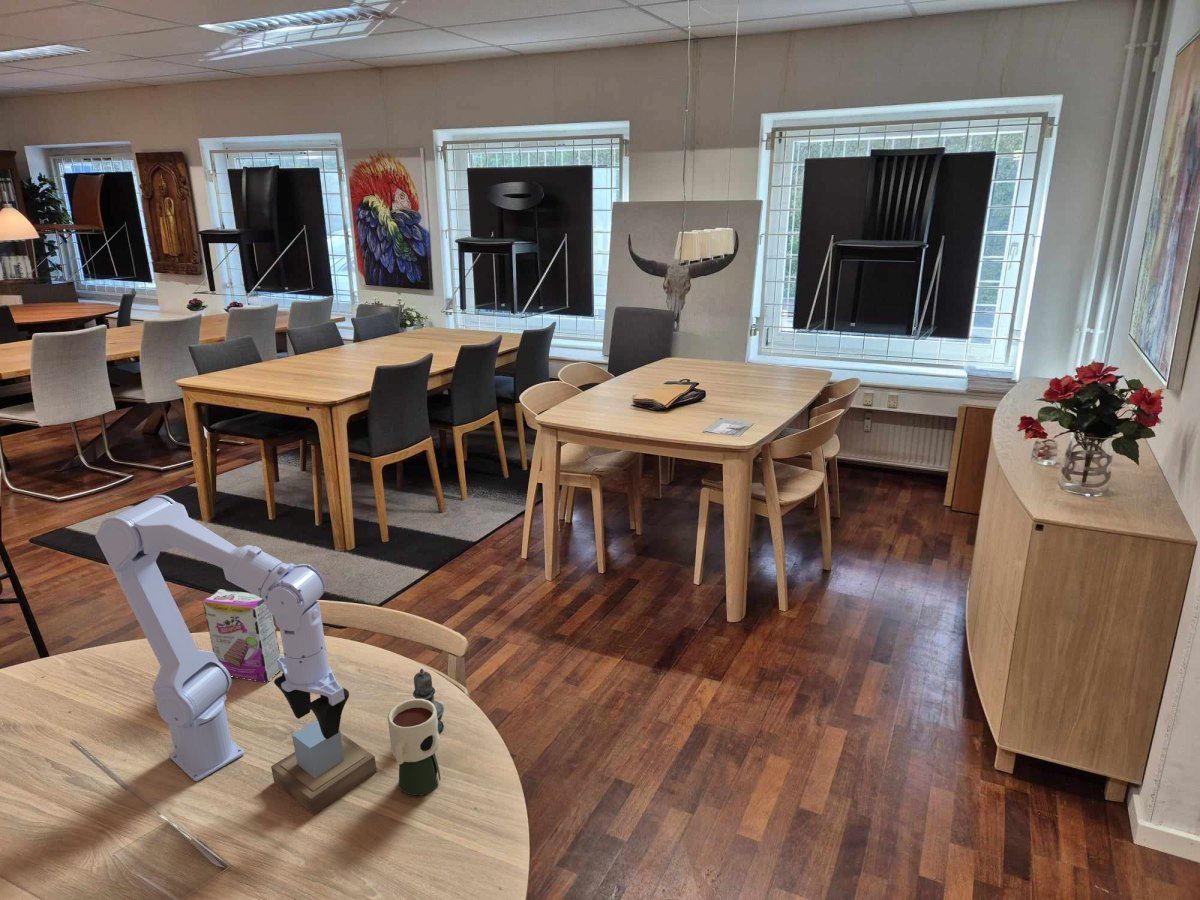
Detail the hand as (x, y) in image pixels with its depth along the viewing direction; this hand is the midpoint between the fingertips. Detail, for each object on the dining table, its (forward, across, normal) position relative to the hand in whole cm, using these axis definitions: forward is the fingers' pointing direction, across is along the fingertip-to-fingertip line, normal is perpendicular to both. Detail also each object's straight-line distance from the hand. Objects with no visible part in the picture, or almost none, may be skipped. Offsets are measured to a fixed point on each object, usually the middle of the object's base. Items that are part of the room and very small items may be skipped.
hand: (317, 724), depth 114 cm
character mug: (+10, +13, +8) cm, 18 cm away
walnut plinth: (+10, 0, 0) cm, 10 cm away
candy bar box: (+10, -36, +7) cm, 38 cm away
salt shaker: (+10, +4, +17) cm, 20 cm away
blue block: (+7, 0, 0) cm, 7 cm away
